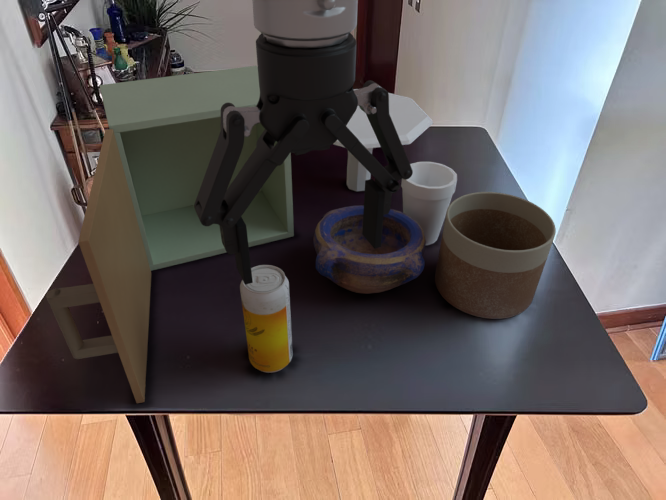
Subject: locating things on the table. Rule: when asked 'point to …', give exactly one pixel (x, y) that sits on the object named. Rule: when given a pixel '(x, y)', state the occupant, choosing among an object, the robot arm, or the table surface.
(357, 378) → the table surface
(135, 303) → the cupboard door
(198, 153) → the cupboard
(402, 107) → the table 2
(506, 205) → the planter
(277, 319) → the beer can
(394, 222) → the bowl
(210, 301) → the table surface
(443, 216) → the foam cup
